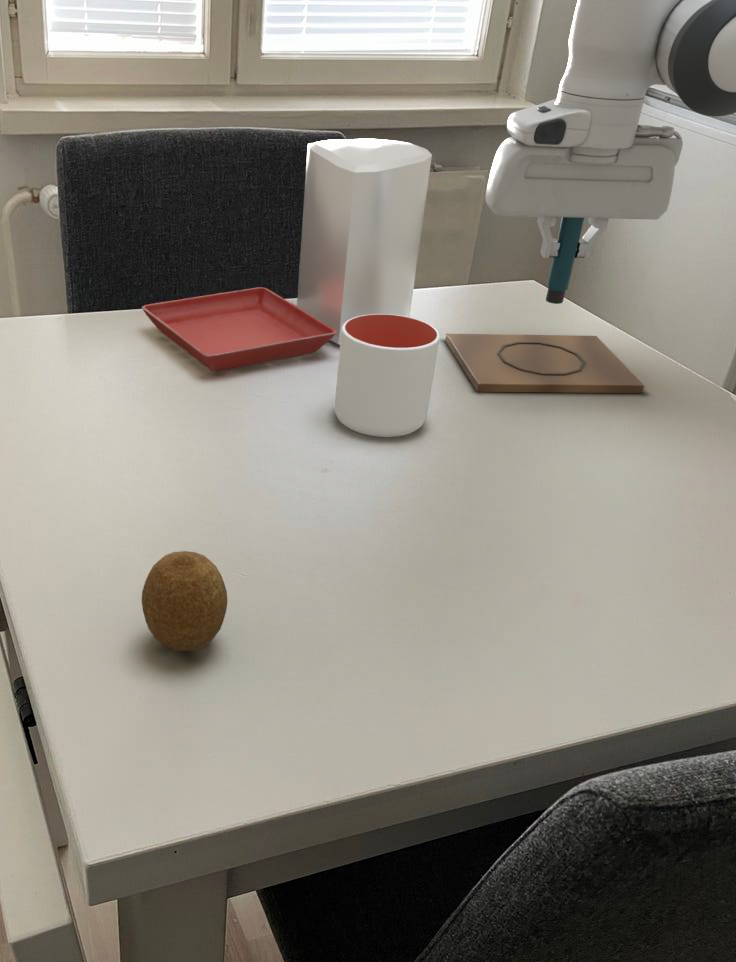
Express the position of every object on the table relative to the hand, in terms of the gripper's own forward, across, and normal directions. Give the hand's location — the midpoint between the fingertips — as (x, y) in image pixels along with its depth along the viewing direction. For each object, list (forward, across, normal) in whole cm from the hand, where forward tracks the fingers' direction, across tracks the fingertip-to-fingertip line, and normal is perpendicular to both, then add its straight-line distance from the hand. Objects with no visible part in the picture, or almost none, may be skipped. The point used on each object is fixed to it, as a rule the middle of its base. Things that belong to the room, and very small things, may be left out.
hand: (563, 256), depth 114 cm
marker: (+5, 0, 0) cm, 5 cm away
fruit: (+13, +45, +55) cm, 72 cm away
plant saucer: (+13, +37, -6) cm, 40 cm away
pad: (+13, 0, 0) cm, 13 cm away
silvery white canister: (+13, +20, -14) cm, 28 cm away
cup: (+13, +23, +16) cm, 31 cm away
